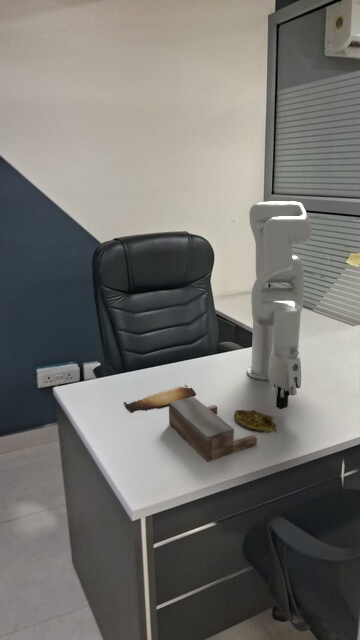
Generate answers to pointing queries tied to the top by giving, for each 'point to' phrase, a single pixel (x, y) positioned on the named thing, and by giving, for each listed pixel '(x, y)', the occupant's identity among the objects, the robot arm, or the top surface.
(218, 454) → the wooden step block
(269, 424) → the mottled yellow-brown oval piece
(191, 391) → the parchment
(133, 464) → the top surface
